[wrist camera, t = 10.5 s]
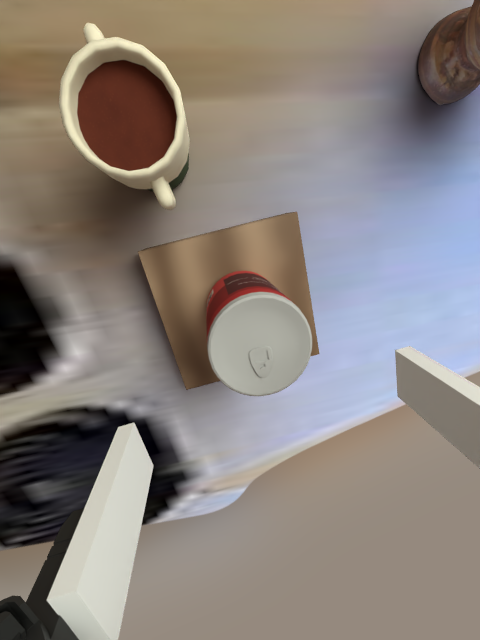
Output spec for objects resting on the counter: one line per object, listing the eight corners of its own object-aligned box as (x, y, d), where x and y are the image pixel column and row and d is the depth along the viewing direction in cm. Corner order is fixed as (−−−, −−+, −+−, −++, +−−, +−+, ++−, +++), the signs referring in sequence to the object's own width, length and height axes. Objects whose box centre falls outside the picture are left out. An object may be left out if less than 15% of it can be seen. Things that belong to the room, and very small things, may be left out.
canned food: (226, 352, 32) (237, 413, 22) (192, 290, 29) (185, 326, 19) (288, 321, 32) (329, 369, 21) (259, 256, 29) (289, 274, 19)
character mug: (96, 112, 27) (7, 21, 15) (166, 83, 27) (134, -33, 15) (150, 226, 31) (114, 227, 19) (211, 200, 31) (216, 185, 18)
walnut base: (188, 372, 37) (186, 389, 33) (145, 248, 31) (137, 251, 28) (307, 340, 37) (319, 353, 34) (286, 213, 32) (297, 211, 28)
